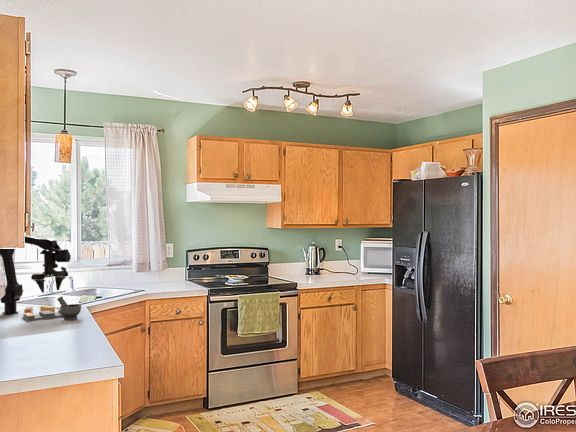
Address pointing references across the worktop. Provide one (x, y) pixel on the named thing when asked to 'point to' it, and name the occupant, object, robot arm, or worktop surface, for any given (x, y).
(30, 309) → the brick plug
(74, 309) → the mortar and pestle
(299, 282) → the worktop surface
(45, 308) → the ochre plug
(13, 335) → the worktop surface
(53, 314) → the slot rack
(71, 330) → the worktop surface
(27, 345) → the worktop surface
